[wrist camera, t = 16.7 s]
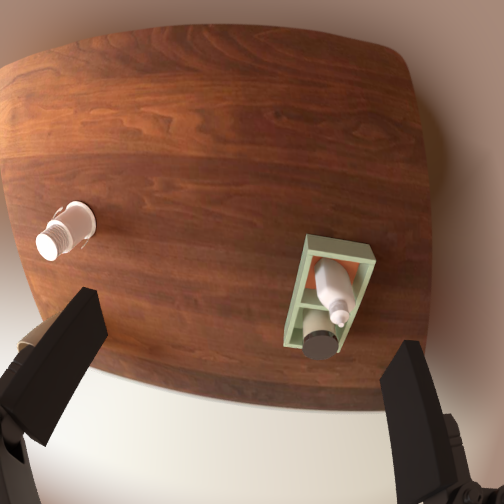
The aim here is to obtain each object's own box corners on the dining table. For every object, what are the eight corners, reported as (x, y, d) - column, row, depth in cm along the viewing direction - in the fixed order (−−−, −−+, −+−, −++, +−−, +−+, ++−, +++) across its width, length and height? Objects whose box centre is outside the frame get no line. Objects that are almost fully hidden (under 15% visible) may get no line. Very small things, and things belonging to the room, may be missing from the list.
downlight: (105, 220, 45) (70, 250, 37) (89, 246, 49) (58, 277, 40) (72, 190, 43) (34, 215, 35) (59, 218, 46) (25, 245, 38)
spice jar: (327, 296, 47) (332, 331, 40) (338, 318, 49) (343, 353, 42) (296, 307, 49) (296, 342, 42) (308, 328, 51) (309, 363, 44)
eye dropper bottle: (324, 288, 46) (330, 345, 36) (311, 260, 44) (316, 314, 33) (350, 279, 45) (364, 334, 34) (339, 250, 42) (352, 302, 32)
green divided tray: (306, 233, 43) (308, 249, 39) (369, 244, 42) (376, 260, 38) (284, 327, 52) (283, 346, 48) (336, 334, 52) (339, 352, 48)
